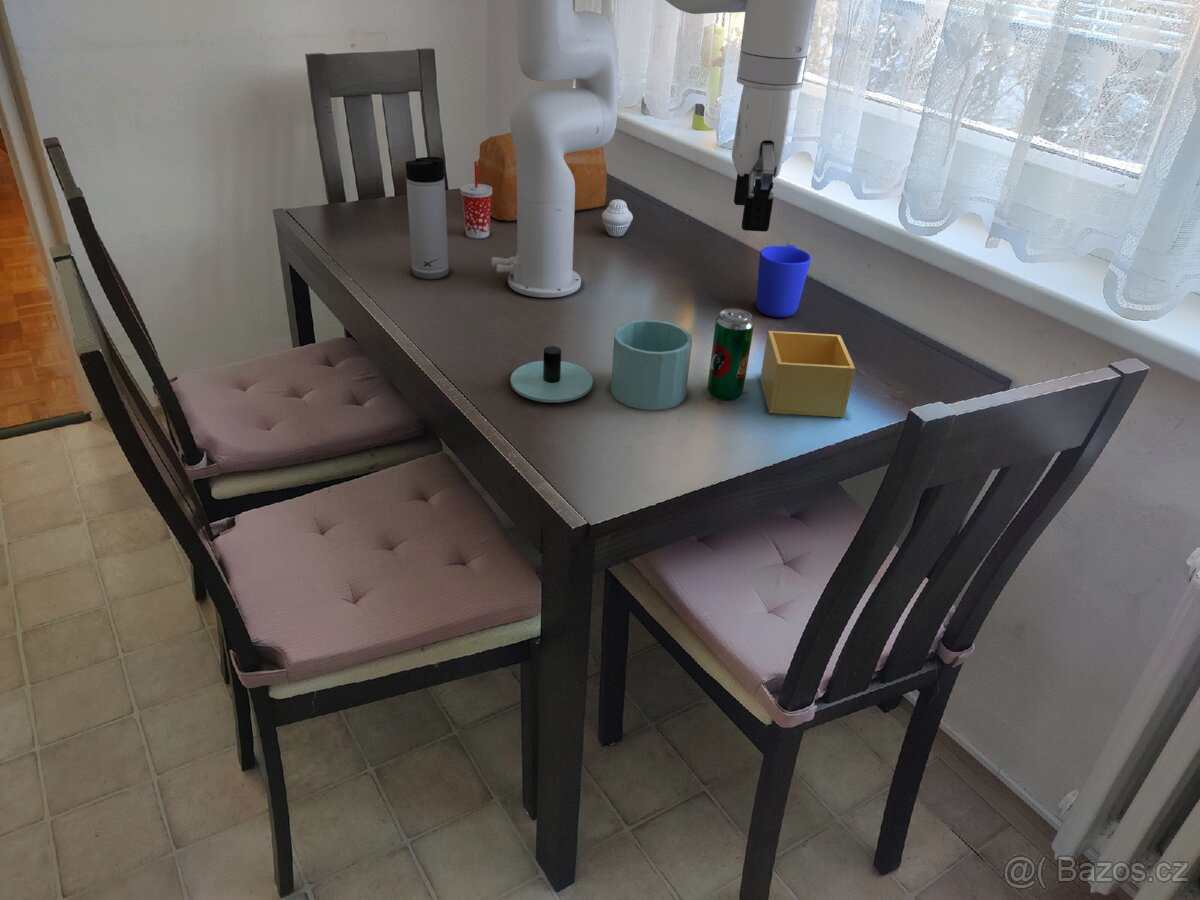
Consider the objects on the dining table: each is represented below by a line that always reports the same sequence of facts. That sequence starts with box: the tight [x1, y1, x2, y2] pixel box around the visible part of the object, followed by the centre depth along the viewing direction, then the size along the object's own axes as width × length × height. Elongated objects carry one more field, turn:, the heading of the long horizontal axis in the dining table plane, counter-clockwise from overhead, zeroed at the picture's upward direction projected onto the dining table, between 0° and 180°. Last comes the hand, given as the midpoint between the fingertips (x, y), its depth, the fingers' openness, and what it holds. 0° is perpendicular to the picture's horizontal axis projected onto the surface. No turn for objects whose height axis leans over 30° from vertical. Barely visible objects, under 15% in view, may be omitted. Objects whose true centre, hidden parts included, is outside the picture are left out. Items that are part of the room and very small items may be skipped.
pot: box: [610, 319, 693, 411], centre depth 122 cm, size 10×10×8 cm
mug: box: [755, 244, 812, 319], centre depth 149 cm, size 8×12×10 cm
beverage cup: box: [459, 160, 493, 239], centre depth 170 cm, size 6×6×14 cm
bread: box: [477, 132, 608, 222], centre depth 186 cm, size 14×26×16 cm, turn 122°
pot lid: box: [510, 345, 594, 403], centre depth 123 cm, size 11×11×6 cm
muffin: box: [601, 198, 634, 237], centre depth 176 cm, size 6×6×7 cm
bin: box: [759, 330, 856, 418], centre depth 123 cm, size 10×10×8 cm
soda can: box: [706, 308, 755, 402], centre depth 122 cm, size 5×5×12 cm
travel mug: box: [405, 156, 450, 280], centre depth 151 cm, size 6×7×20 cm
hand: (750, 217), depth 111 cm, fingers open, 9 cm apart
